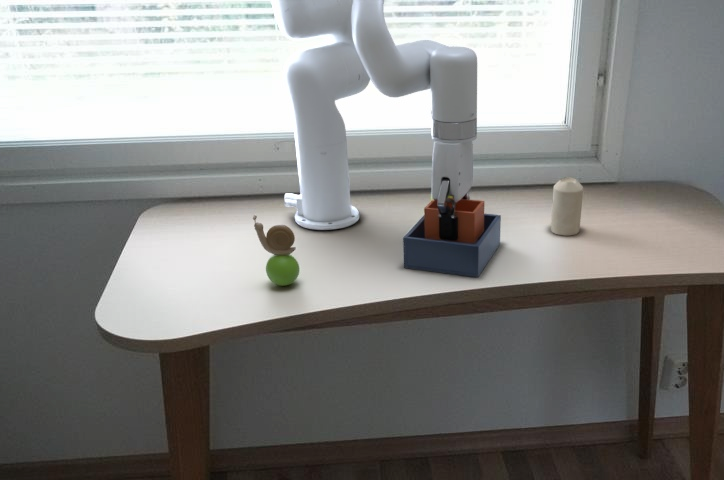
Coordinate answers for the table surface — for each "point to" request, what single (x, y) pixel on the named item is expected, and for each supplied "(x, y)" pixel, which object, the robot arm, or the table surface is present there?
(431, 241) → the big tote
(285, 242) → the snail figurine
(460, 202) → the small tote
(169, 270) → the table surface
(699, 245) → the table surface
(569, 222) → the candle
